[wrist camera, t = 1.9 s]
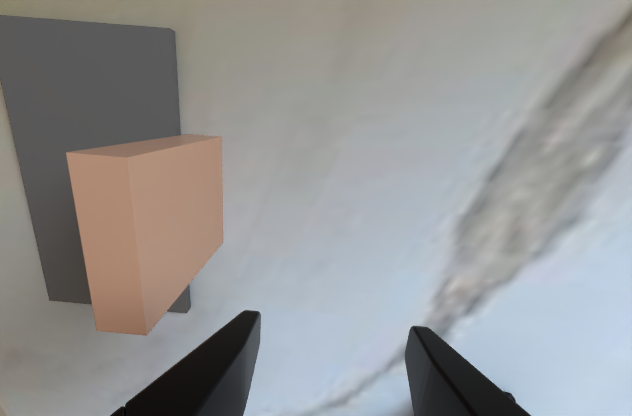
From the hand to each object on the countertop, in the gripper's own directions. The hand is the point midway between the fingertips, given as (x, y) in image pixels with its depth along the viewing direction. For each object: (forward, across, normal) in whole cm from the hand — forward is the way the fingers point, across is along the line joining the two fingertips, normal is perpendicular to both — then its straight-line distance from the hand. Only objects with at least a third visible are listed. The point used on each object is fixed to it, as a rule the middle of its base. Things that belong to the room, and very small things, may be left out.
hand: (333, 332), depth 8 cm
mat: (+12, +14, 0) cm, 19 cm away
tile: (+12, +8, 0) cm, 15 cm away
